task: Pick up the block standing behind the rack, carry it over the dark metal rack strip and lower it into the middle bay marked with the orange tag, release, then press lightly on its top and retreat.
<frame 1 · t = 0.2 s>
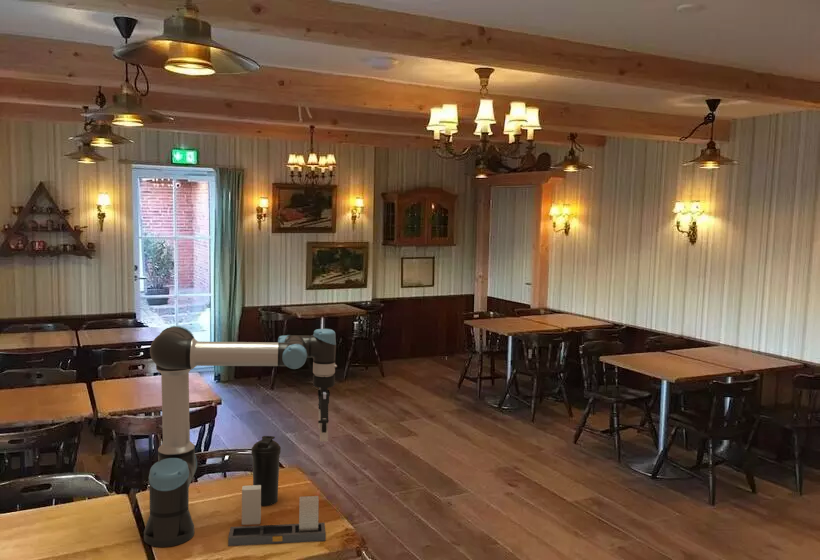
hand: (322, 434, 231), 27 cm above the table, fingers open, 13 cm apart
rack: (277, 537, 213), on the table
water bottle: (265, 501, 240), on the table
block: (251, 522, 224), on the table
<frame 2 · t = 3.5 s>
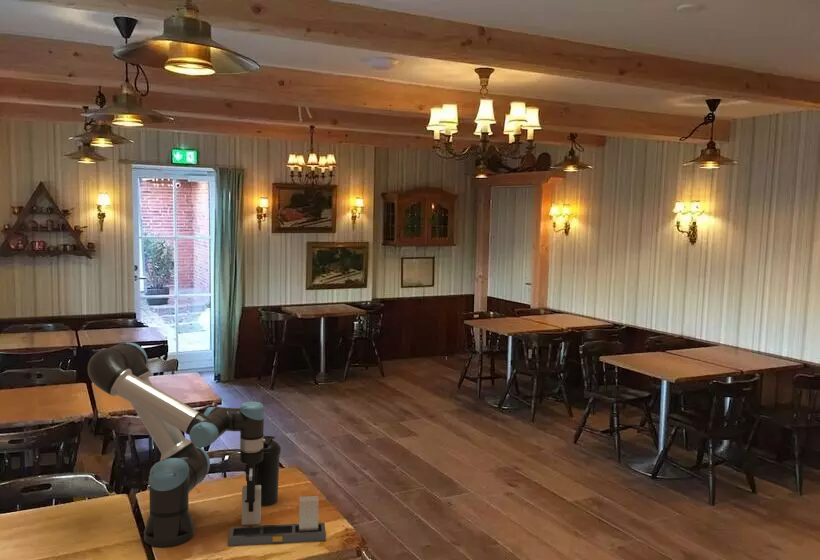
hand: (251, 516, 223), 2 cm above the table, fingers closed on block, 3 cm apart
block: (251, 522, 224), on the table, touching gripper
everything else where it was.
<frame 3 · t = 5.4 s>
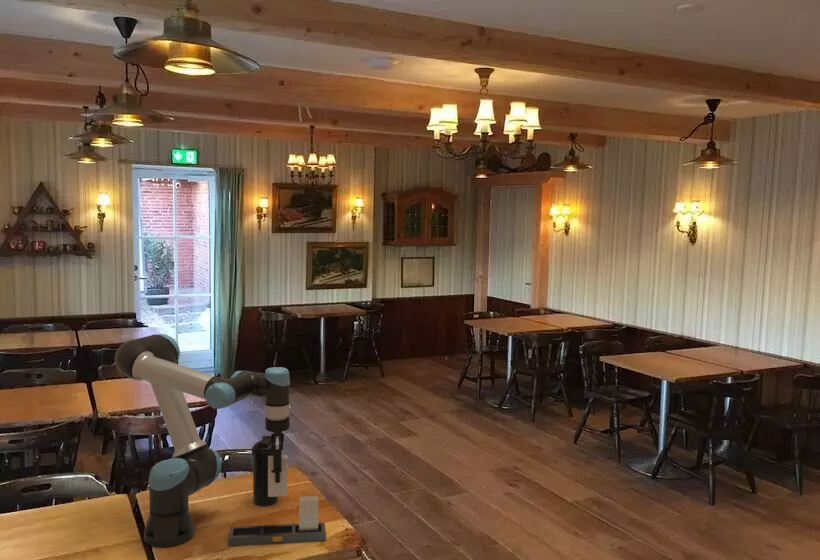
hand: (277, 488, 213), 16 cm above the table, fingers closed on block, 3 cm apart
block: (277, 494, 213), point 14 cm above the table, touching gripper
everything else where it was.
when the fingers open (3 cm above the table, at t = 7.4 s): block drops 1 cm, resting on rack.
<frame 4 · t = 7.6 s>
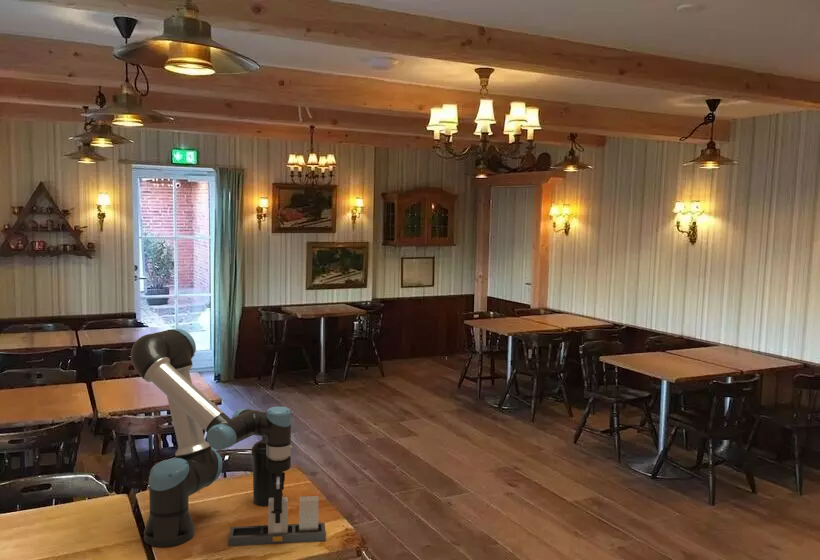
hand: (277, 526, 213), 4 cm above the table, fingers open, 6 cm apart
block: (277, 535, 213), point 1 cm above the table, touching rack
everything else where it was.
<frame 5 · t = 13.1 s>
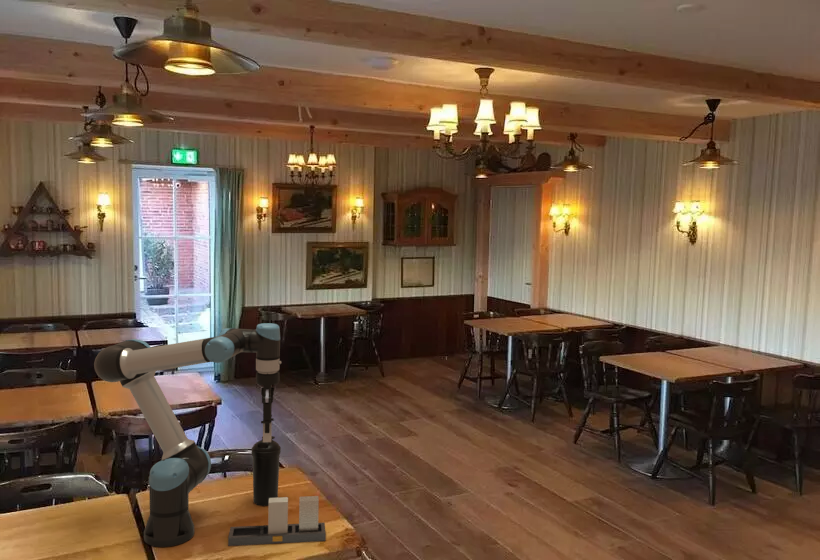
hand: (267, 441, 220), 28 cm above the table, fingers closed
nothing on the table moved.
at the end: block 0.1 cm off-centre on the rack, point 0.6 cm above the rack's base; block tilted 0°; the gripper is holding nothing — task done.
